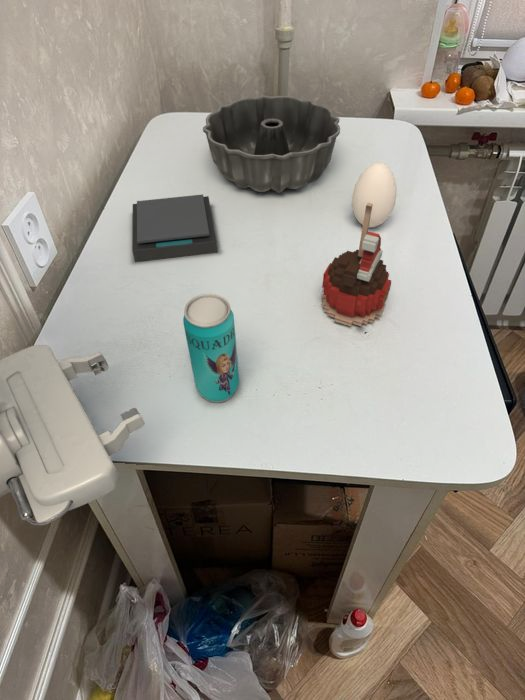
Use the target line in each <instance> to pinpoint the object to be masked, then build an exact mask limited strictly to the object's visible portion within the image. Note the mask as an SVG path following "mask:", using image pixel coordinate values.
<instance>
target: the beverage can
mask: <svg viewBox="0 0 525 700" xmlns="http://www.w3.org/2000/svg"><path fill="white" fill-rule="evenodd" d="M231 308H232V307H231V304H230V302H229V301H228V299H226V298H225V297H224V296H222V295H219V294H216V293H203V294H202V293H201V294H198V295H196V296H194V297H192V298H191V299H190V300H189V301H188V302H186V304H185V306H184V310H183V314H184V316H183V317H182V318H183V319H182V323H183V328H184V329H183V330H184V334H185V338H186V339H185V340H186V343H187V349H188V354H189V355H188V356H189V359H190V364H191V365H190V366H191V370H192V374H193V375H192V376H193V380H194V386H195V388H196V391H197V393H198V394H200V395H201V396H202V398H204V399H205V400H206V401H208V402H211V403H216V404H217V403H223V402H226V401H228V400H230V399H231V398H232V397H233V396H234V394H235V393H236V391H237V390H238V389H237V388H238V387H239V384H240V374H239V364H238V363H239V362H238V352H237V351H238V350H237V338H236V325H235V315H234V312H233V311H232V309H231Z"/></svg>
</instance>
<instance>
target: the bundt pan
mask: <svg viewBox="0 0 525 700" xmlns="http://www.w3.org/2000/svg"><path fill="white" fill-rule="evenodd" d="M340 120H341V119H340V117H338V116H336V115H334V114H333V111H332V110H331V108H329V107H327V106H325V105H323V104H318V103H315V102H314V101H313V100H311V99H301V98H299V97H295V96H291V95H275V96H269V95H260V96H257V97H244V98H239V99H236V100H234V101H232V102H229V104H223V105H219V106H218V108H217V110H214V111H212V112H211V113H209V114H208V115H207V116H206V117H205V125H204V126H203V127H202V131H203V132H204V133H205V136H206V139H207V144H208V147H209V153H210V155H211V158H212V161H213V163H214V164H215V166H216V167H217V169H218V171H219V172H220V174H221V175H222V176H223V178H225V179H226V180H229V181H230V182H234V184H235V185H236V186H237V187H238V188H241V189H246V188H249V189H252V190H253V191H255V192H260V193H261V192H263V193H264V192H267V191H270V190H273V191H275V192H276V193H278V194H281V192H283V191H284V190H285V189H290V190H296V189H300V188H302V187H304V186H305V185H306V184H312V183H314V182H316V181H317V180H318V179H319V178H320V177H321V176H322V174H323V172H324V171H325V170H326V169H327V167H328V166H329V165H330V163H331V160H332V155H333V153H334V152H333V151H334V149H335V145H336V140H337V137H339V136H340V134H341V126H340V124H339V123H340Z"/></svg>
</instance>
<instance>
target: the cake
mask: <svg viewBox="0 0 525 700" xmlns="http://www.w3.org/2000/svg"><path fill="white" fill-rule="evenodd" d="M372 205H373V204H371V203H367V205H366V209H365V215H364V221H363V225H362V227H361V233H360V241H359V247H358V249H356V250H354V251H350V250H346V251H344V252H342V253H341V254H339V255H338V257H334V258H333V260H332V261H331V262H330V263H329V264H328V266H327V268H326V269H325V271H324V273H323V275H322V286H321V288H323V292H322V295H321V297H320V301H321V302H322V303H321V308H323V309H324V312H325V313H326V316H327V317H331V318H333V322H335V323H339V324H342V325H345V326H348V327H352V326H353V325H355V326H359V327H362V326H363V324H364V325H368V323H371V324H373V323H374V322H375V319H376V318H377V319H381V317H382V315H383V312H384V311H385V308H386V305H387V304H386V301H387V299H388V296H389V293H390V290H391V286H392V280H391V279H389V277H390V273H389V271H387V264H384V260H383V259H381V258H382V257H383V253H384V251H383V250H382V248H381V245H382V243H381V242H382V237H381V235H380V233H377V232H373V231H369V228H370V227H369V223H370V217H371V211H372Z"/></svg>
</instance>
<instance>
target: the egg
mask: <svg viewBox="0 0 525 700" xmlns="http://www.w3.org/2000/svg"><path fill="white" fill-rule="evenodd" d="M396 200H397V182H396V178H395V175H394V173H393V171H392V170H391V168H390V167H389V166H388V165H387V164H385V163H383V162H375V163H372V164H370V165H368V166H367V167H366V168H365V169H364V170H363V171H362V173H361V174H360V176H359V177H358V179H357V181H356V183H355V184H354V188H353V191H352V196H351V208H352V212H353V215H354V217H355V218H356V220H357V221H358V223H359V224H360V225H362V226H363V221H364V215H365V209H366V205H367V203H371V204H373V205H372V211H371V217H370V223H369V228H375V227H378V226H380V225H382V224H383V223H384V222H386V221H387V220H388V218H389V217H390V215H392V212H393V211H394V209H395V205H396Z"/></svg>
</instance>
